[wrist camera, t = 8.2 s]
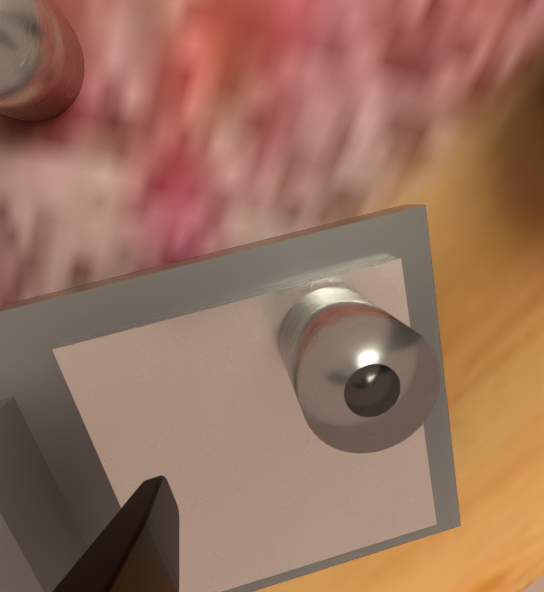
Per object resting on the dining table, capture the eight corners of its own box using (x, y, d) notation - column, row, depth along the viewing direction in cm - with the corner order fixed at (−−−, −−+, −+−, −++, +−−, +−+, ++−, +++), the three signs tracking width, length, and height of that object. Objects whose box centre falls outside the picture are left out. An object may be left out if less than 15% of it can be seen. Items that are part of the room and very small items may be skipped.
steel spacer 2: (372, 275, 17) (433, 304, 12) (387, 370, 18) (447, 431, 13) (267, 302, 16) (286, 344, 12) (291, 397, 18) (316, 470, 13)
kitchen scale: (405, 204, 19) (474, 205, 14) (442, 500, 25) (502, 582, 19) (-68, 322, 18) (-193, 374, 12) (83, 611, 23) (42, 733, 18)
